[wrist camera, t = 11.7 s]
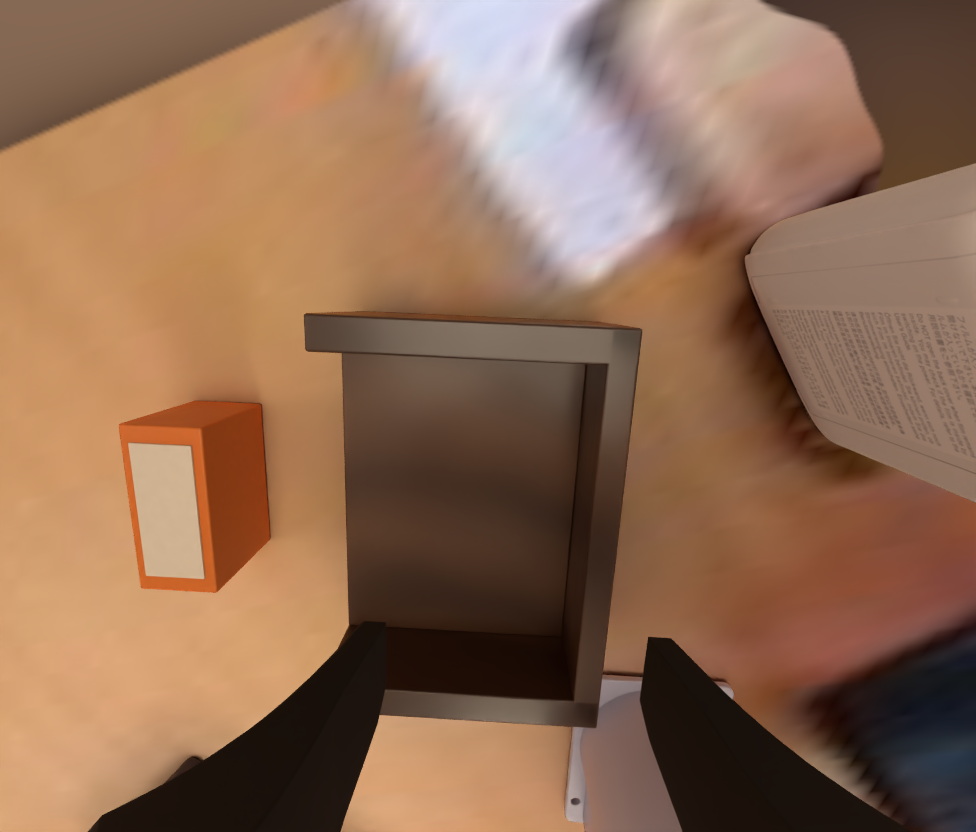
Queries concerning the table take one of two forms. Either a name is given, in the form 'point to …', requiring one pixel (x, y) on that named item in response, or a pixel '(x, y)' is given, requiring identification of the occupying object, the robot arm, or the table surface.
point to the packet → (196, 493)
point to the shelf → (484, 505)
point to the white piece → (882, 322)
